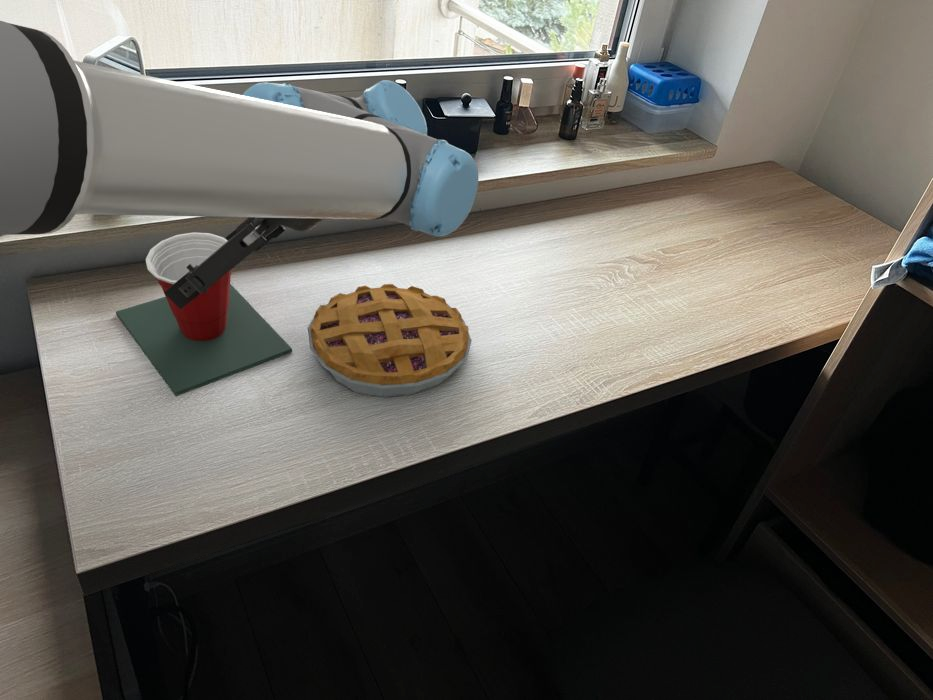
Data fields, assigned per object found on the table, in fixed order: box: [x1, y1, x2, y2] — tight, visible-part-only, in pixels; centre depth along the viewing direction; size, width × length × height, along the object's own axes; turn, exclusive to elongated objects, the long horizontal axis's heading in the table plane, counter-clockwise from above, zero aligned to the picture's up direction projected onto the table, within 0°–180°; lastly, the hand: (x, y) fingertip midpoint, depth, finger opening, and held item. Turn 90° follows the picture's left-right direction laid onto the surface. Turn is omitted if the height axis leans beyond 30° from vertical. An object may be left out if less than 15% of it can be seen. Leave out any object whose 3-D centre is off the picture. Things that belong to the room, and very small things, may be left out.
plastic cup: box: [145, 231, 233, 341], centre depth 94 cm, size 11×11×12 cm
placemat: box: [115, 283, 293, 397], centre depth 98 cm, size 16×20×1 cm
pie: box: [307, 283, 473, 398], centre depth 98 cm, size 22×22×5 cm
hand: (204, 271), depth 92 cm, fingers open, 13 cm apart
